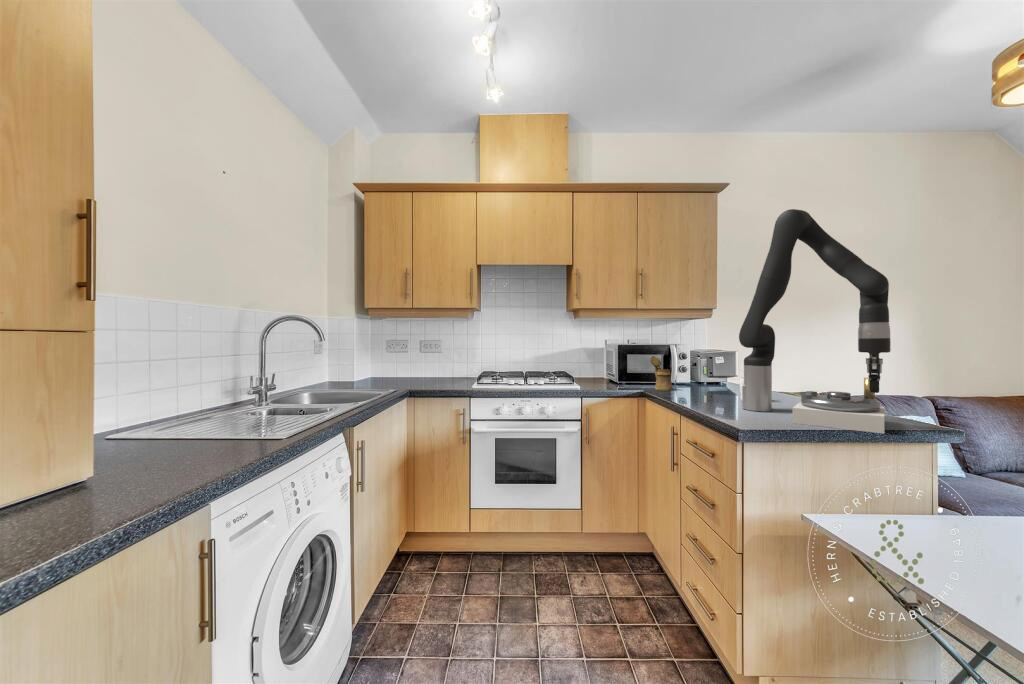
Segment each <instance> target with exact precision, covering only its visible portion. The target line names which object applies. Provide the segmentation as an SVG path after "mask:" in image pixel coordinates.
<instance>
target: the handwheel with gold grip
mask: <svg viewBox="0 0 1024 684" xmlns="http://www.w3.org/2000/svg"><path fill="white" fill-rule="evenodd" d="M851 395H852V394H851V393H850V392H845V391H827V392H826V394H818V392H817V391H814V390H811V391H809V390H807V391H805V393H802V395H801V396H800V402H801V404H802V405H804V406H808V407H813V408H819V409H827V410H836V411H849V412H876V411H880V406H881V401H879V400H878V399H877V398H876V395H875V393H871V392H870V380H869V377H863V397H860V396H859V397H858V396H851Z"/></svg>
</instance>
